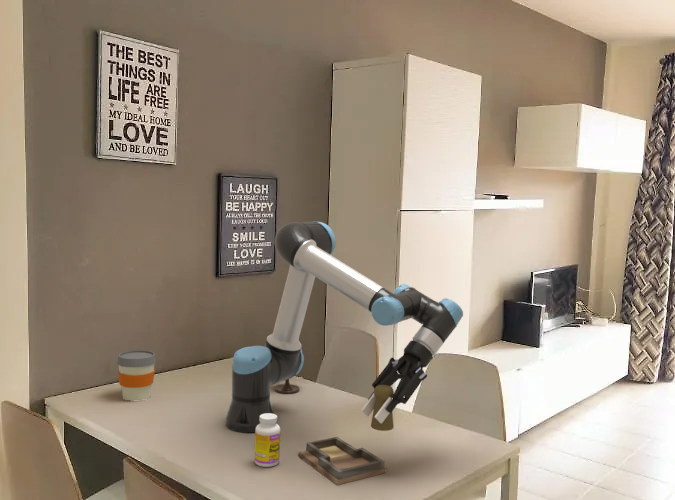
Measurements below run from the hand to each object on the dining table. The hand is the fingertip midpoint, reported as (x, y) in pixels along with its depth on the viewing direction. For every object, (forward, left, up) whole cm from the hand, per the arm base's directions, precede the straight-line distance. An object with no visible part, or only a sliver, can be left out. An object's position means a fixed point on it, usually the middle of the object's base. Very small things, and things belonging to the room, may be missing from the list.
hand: (371, 416), depth 168 cm
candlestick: (-70, +13, -15) cm, 73 cm away
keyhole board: (-7, -4, -15) cm, 17 cm away
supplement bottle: (-17, -21, -15) cm, 31 cm away
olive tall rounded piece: (0, +4, -3) cm, 5 cm away
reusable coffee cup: (-86, -37, -15) cm, 95 cm away
